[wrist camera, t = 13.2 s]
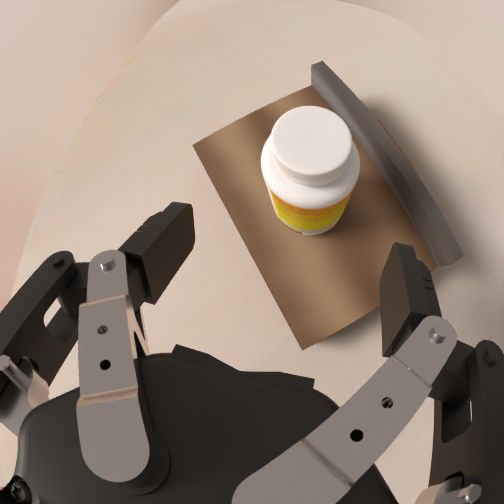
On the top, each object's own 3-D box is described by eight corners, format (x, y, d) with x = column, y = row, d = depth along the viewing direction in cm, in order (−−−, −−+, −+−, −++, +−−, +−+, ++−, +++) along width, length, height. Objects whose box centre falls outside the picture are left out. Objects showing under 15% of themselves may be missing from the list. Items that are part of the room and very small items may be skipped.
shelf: (323, 102, 28) (325, 59, 21) (430, 263, 24) (466, 252, 17) (205, 163, 29) (180, 129, 22) (301, 342, 25) (302, 358, 18)
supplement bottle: (353, 223, 22) (389, 171, 12) (287, 247, 23) (276, 209, 13) (327, 162, 23) (338, 82, 13) (264, 183, 24) (238, 112, 14)
